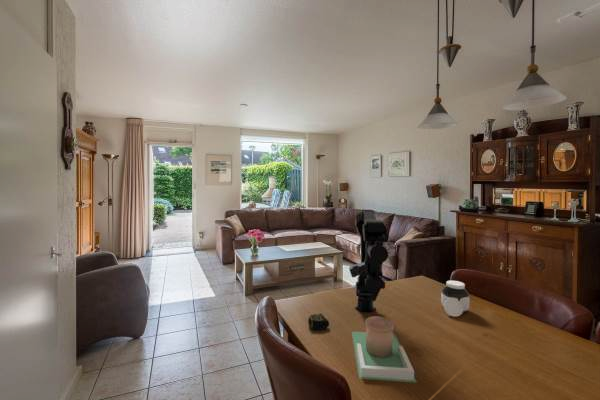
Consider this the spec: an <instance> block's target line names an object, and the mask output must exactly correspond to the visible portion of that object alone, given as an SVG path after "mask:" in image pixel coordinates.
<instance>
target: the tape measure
mask: <svg viewBox="0 0 600 400" xmlns="http://www.w3.org/2000/svg"><path fill="white" fill-rule="evenodd" d="M329 325H330V321H329V320H328V319H327V318H326V317H325V316H324V315H323V314H322V313H313V314H311V315H309V317H308V326H309V327H310V328H311V329H313V330H323V329H326V328H328V327H330V326H329Z"/></svg>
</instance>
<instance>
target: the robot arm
mask: <svg viewBox="0 0 600 400" xmlns="http://www.w3.org/2000/svg"><path fill="white" fill-rule="evenodd" d="M374 211H375V210H373V209H361V211H360V213H358V214H357V215H356V216H355V219H354V227H355V228H356V233H357V235H358V236H359V238H360V263H356V264H352V265H350V266H349V268H348V269H349V273H350V275H351V277H352V278H356V277H357V281H356V282H355V286H354V289H355V290H354V292H355V297H357V305H356V306H355V307H354V309H356V310H357V311H360V312H361V313H366V314H368V313H371V312H374V311H376V310H377V308H376V307H374V302H375V301H376V300H377V298H378V296H379V294H380V291H381V290H384V289H386V281H385V279H384V278H383V277H384V276H383V275H384V273H383V265H384V263H385V262H386V261H387V259H388V258H389V251H388V249H387V248H386V247H385V246H384V243H388V242H389V239H390V237H389V236H390V235H389V231H388V227H387V226H386V224H385V223H384V221H382V220H381V219H377V217H376V215H375V212H374Z"/></svg>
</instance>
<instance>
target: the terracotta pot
mask: <svg viewBox="0 0 600 400" xmlns="http://www.w3.org/2000/svg"><path fill="white" fill-rule="evenodd" d="M365 326H366V327H365V331H366V351H367V352H368V353H369V354H370V355H372V356H374V357H378V358H387V357H390V356H391V355H392V344H393V334H394V328H395V327H394V326H395V323H394V322H393V320H391V319H389V318H386V317H385V316H384V317H383V316H377V315H376V316H375V315H374V316H369V317H367V318H366V319H365Z"/></svg>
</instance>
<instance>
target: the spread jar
mask: <svg viewBox="0 0 600 400" xmlns="http://www.w3.org/2000/svg"><path fill="white" fill-rule="evenodd" d="M465 287H466V284H465V283H464V282H462V281H459V280H447V281H446V283H445V286H444V287H443V288H441V294H440V295H441V296H440V301H441V302H440V303H441V306H442V307H443V309H444V311H445V312H446V314H448V315H449V316H450V317H459V316H461V315H462V314H464V313H466V312H467V311H468V310H469V307H470V294H469V292H468V291H467V289H466V288H465Z"/></svg>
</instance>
